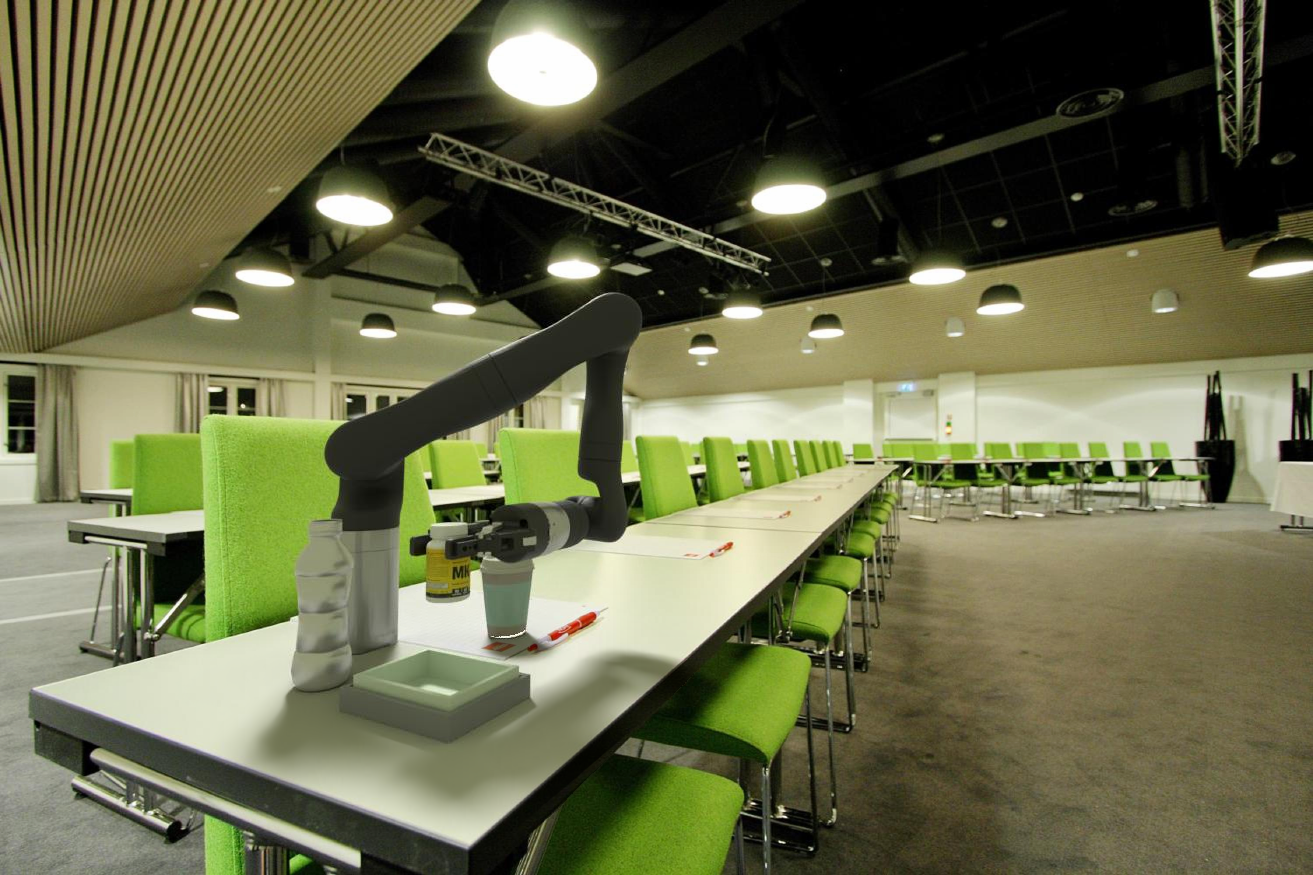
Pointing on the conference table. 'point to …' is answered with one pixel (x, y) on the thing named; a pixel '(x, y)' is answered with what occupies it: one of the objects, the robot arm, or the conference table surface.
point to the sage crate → (436, 678)
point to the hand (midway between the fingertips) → (430, 548)
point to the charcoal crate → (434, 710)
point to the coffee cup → (506, 595)
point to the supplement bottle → (446, 566)
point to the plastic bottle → (323, 609)
